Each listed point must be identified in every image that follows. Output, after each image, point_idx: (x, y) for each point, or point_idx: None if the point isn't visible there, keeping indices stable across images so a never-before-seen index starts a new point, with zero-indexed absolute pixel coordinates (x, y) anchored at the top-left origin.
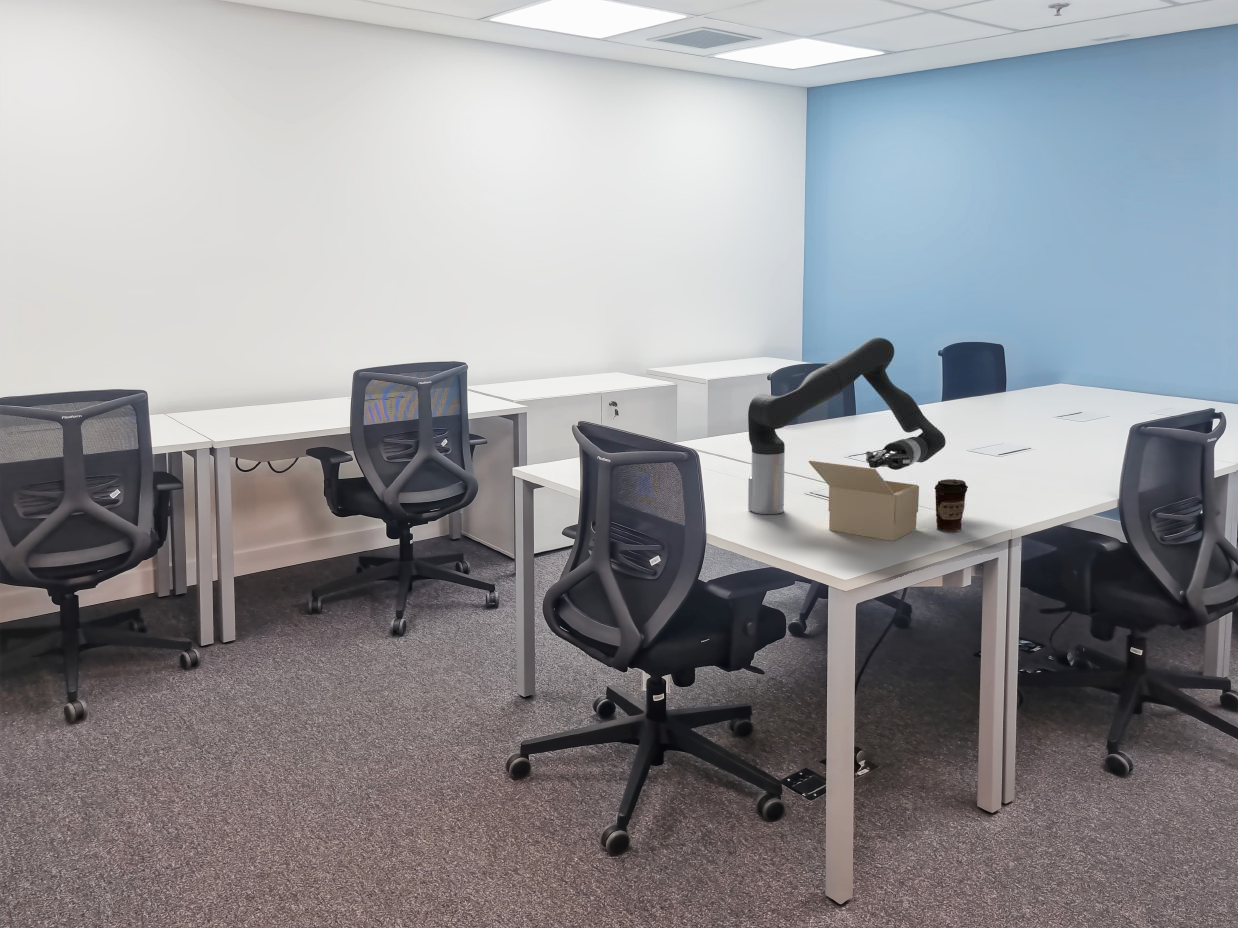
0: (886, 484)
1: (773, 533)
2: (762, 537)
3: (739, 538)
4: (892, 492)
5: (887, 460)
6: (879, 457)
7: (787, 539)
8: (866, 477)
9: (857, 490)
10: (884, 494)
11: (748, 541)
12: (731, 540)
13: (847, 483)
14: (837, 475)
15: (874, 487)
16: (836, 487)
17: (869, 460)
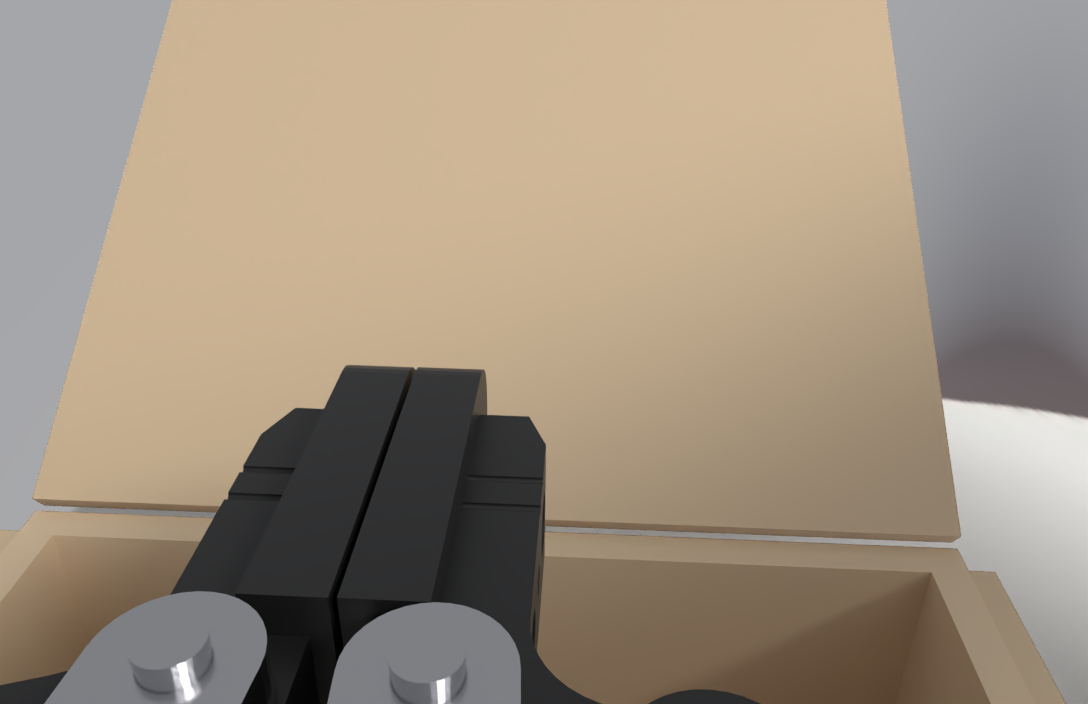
0: (107, 250)
1: (1055, 603)
2: (1008, 514)
3: (1068, 456)
4: (56, 439)
5: (18, 698)
6: (336, 693)
7: (868, 543)
8: (308, 139)
9: (547, 542)
10: (171, 524)
11: (982, 440)
12: (1054, 421)
13: (613, 360)
14: (660, 190)
15: (268, 354)
16: (858, 555)
17: (525, 423)
